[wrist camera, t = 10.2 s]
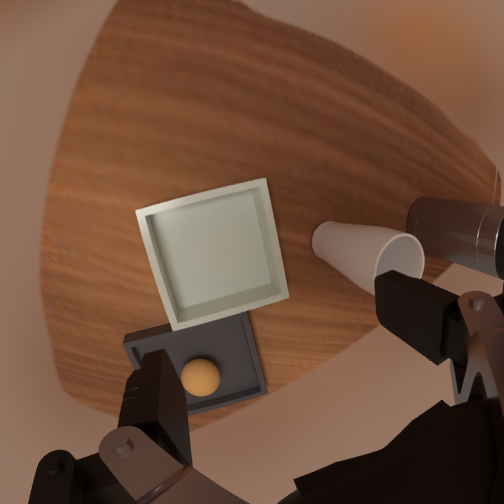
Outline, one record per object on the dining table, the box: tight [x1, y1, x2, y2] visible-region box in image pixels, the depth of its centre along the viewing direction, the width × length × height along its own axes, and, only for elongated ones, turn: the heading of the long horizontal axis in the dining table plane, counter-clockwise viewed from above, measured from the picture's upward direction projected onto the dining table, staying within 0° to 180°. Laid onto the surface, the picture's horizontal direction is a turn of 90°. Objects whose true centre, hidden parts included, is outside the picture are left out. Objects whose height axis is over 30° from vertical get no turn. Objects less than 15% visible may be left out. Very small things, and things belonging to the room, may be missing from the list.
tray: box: [123, 311, 268, 415], centre depth 37 cm, size 16×14×2 cm
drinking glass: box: [312, 221, 424, 296], centre depth 31 cm, size 7×7×15 cm
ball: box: [181, 359, 220, 396], centre depth 34 cm, size 5×5×5 cm
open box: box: [135, 178, 289, 331], centre depth 33 cm, size 14×14×5 cm
